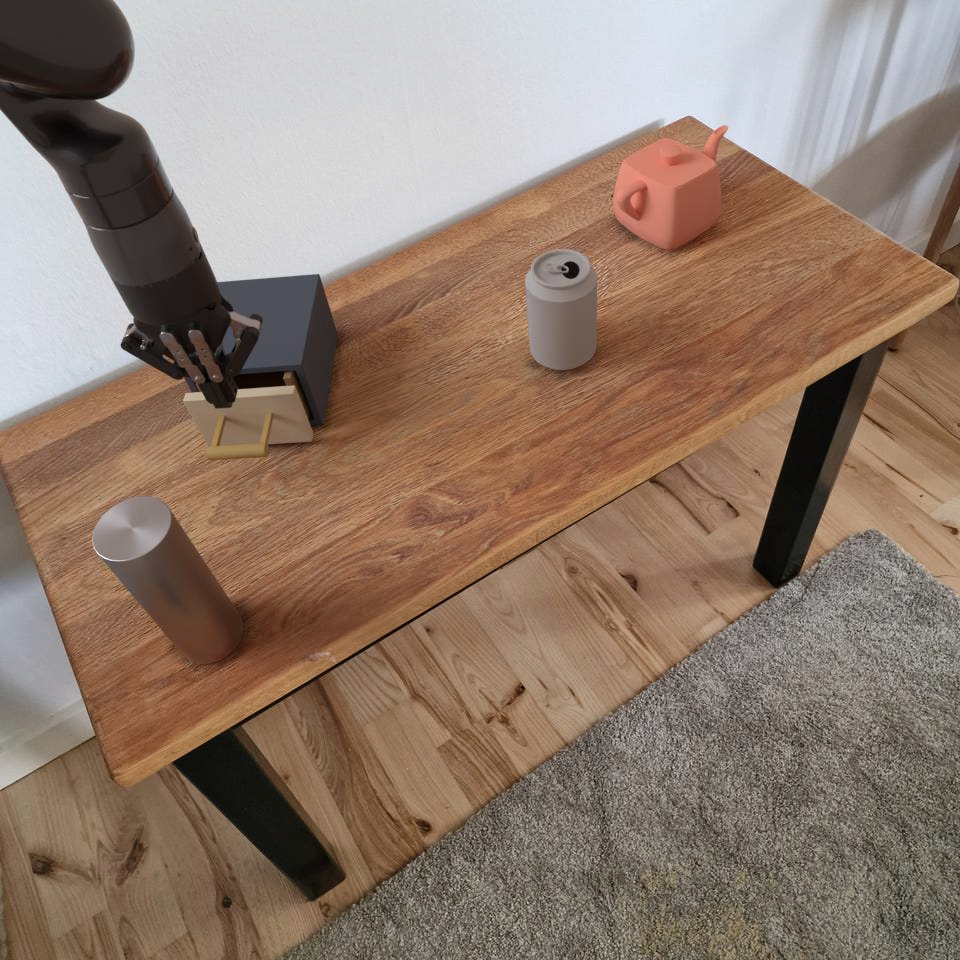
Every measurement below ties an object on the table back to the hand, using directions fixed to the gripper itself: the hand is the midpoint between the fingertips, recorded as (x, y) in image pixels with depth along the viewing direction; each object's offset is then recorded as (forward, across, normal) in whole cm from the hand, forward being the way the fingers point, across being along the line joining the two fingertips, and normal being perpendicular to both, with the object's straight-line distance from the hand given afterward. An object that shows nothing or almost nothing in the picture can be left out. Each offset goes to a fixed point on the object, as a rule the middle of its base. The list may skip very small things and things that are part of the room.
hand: (226, 401), depth 79 cm
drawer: (+9, 0, +7) cm, 11 cm away
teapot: (+11, +48, +38) cm, 62 cm away
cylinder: (+10, -1, -19) cm, 22 cm away
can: (+11, +33, +15) cm, 38 cm away
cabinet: (+10, 0, +13) cm, 17 cm away
